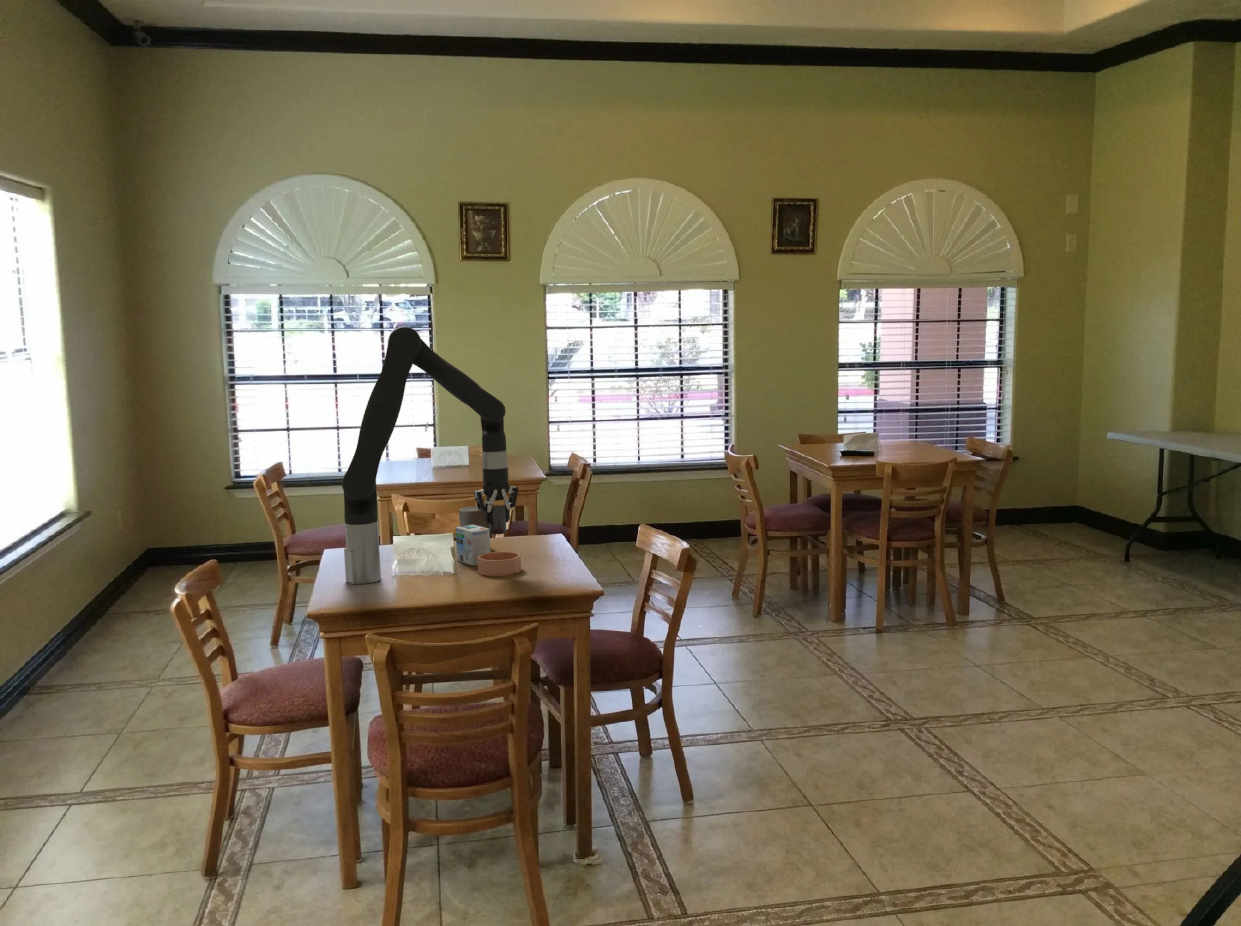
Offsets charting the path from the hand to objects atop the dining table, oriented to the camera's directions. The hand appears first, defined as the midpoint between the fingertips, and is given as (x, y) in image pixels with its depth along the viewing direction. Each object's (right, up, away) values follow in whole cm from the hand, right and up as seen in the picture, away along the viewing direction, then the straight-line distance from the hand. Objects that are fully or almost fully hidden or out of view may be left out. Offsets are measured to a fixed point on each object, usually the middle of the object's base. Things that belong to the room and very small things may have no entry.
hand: (497, 522), depth 300 cm
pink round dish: (0, -14, +2) cm, 14 cm away
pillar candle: (-11, -11, +35) cm, 38 cm away
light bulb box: (-9, -13, +16) cm, 23 cm away
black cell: (0, -3, 0) cm, 3 cm away
